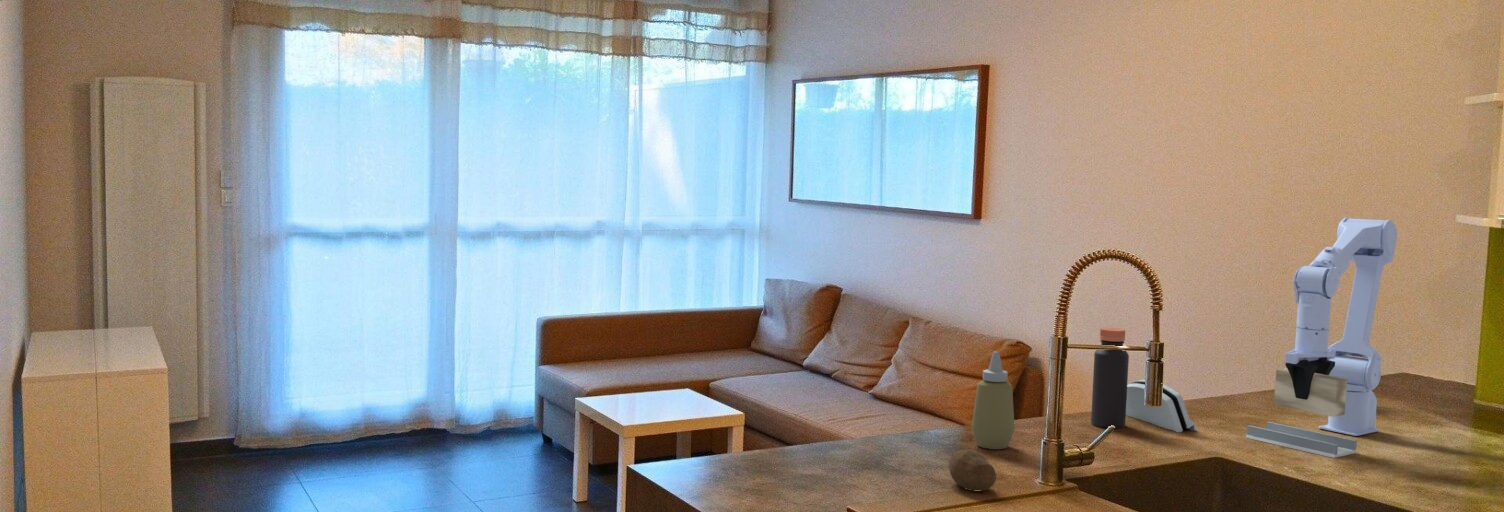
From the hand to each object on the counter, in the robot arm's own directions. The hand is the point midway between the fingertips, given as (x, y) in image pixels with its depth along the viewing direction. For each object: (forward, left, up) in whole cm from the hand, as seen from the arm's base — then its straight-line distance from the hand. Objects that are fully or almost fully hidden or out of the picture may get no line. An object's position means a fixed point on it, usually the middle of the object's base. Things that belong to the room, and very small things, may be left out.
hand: (1307, 397), depth 225 cm
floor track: (+1, -1, -10) cm, 10 cm away
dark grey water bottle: (+21, -31, -10) cm, 38 cm away
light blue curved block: (+10, -27, -10) cm, 30 cm away
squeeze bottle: (+56, -30, -10) cm, 64 cm away
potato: (+80, -12, -10) cm, 81 cm away
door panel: (0, 0, -2) cm, 2 cm away
